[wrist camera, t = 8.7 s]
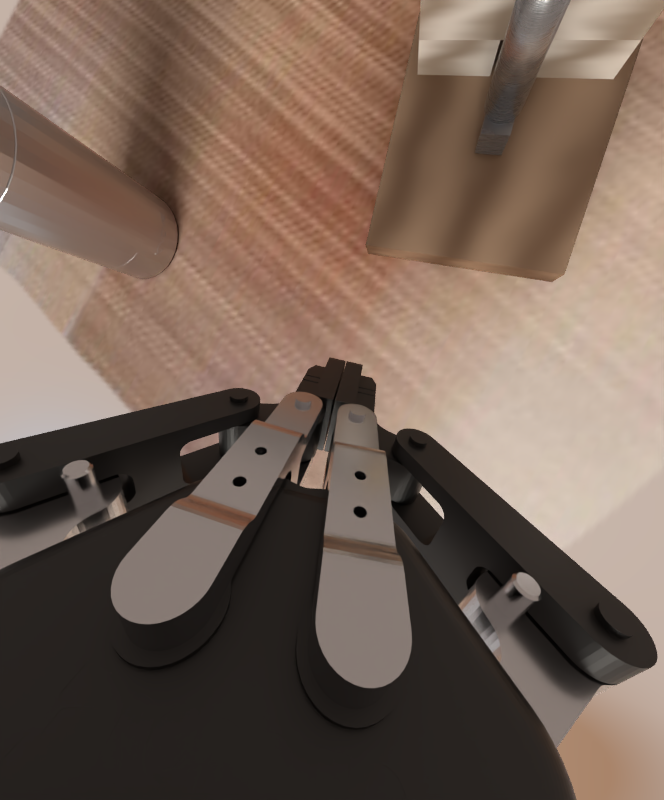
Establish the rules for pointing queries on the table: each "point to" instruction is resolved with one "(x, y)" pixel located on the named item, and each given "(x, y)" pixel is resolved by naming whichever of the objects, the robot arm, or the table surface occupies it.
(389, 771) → the robot arm
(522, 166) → the board
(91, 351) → the table surface
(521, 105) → the gold knob lever
